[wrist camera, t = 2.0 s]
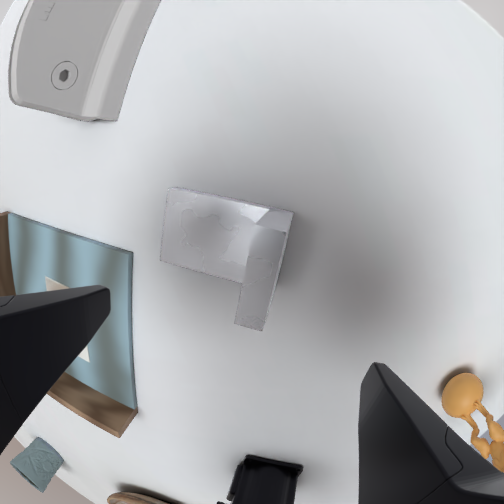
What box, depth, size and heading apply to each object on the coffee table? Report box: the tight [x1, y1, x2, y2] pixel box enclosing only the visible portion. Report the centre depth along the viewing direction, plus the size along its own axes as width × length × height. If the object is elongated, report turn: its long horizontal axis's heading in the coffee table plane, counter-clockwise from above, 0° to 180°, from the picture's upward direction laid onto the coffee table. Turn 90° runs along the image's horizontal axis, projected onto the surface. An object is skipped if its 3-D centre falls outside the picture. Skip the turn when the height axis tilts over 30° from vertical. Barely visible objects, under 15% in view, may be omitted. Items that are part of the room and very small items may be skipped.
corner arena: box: [0, 211, 138, 438], centre depth 23 cm, size 19×19×4 cm
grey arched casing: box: [8, 0, 161, 122], centre depth 12 cm, size 17×5×10 cm, turn 164°
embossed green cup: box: [10, 437, 63, 493], centre depth 37 cm, size 10×10×12 cm
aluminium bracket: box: [160, 187, 294, 331], centre depth 16 cm, size 8×5×6 cm, turn 79°
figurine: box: [442, 373, 504, 473], centre depth 13 cm, size 8×6×12 cm
